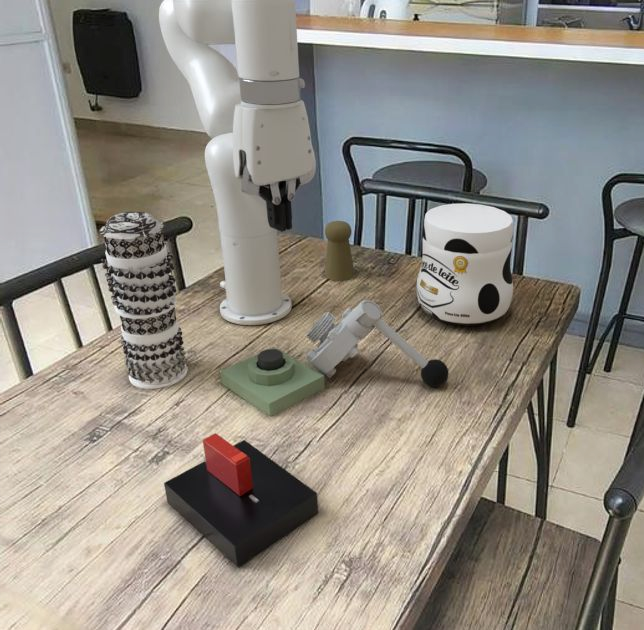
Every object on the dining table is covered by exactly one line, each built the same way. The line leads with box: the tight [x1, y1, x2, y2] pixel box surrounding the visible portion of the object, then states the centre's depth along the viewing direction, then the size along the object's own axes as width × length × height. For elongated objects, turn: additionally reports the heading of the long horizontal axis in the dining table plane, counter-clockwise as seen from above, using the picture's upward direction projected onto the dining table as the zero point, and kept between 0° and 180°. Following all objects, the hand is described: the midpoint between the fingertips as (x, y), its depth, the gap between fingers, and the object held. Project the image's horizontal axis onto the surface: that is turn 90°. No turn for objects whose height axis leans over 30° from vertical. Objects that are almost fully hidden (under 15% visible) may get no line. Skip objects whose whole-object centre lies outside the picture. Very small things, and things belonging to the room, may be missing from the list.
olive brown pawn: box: [324, 220, 355, 282], centre depth 135 cm, size 6×6×11 cm
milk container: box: [415, 202, 514, 327], centre depth 120 cm, size 17×17×18 cm
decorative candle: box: [99, 211, 189, 390], centre depth 98 cm, size 9×9×25 cm
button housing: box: [219, 346, 326, 417], centre depth 100 cm, size 12×10×4 cm
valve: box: [304, 299, 450, 388], centre depth 103 cm, size 10×20×15 cm
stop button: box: [257, 348, 284, 371], centre depth 99 cm, size 4×4×2 cm
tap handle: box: [202, 432, 253, 496], centre depth 78 cm, size 6×2×5 cm, turn 49°
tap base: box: [163, 439, 319, 568], centre depth 78 cm, size 14×11×3 cm
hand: (280, 227), depth 95 cm, fingers closed
